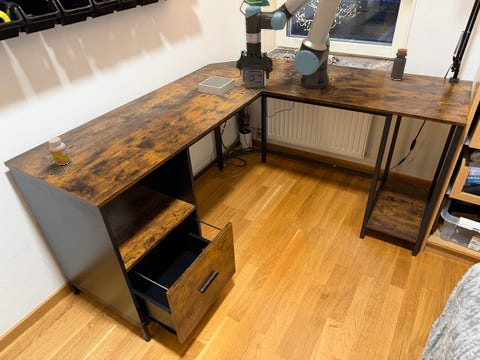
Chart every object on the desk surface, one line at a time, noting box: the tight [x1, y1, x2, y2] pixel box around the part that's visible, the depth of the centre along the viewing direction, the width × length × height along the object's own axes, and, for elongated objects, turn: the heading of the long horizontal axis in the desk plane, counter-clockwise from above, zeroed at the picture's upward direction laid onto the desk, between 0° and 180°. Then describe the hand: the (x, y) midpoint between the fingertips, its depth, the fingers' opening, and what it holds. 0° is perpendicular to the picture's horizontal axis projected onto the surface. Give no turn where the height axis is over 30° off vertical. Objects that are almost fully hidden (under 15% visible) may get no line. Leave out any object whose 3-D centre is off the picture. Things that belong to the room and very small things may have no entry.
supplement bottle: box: [48, 136, 72, 166], centre depth 122 cm, size 5×5×10 cm
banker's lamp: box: [235, 0, 274, 70], centre depth 197 cm, size 26×23×40 cm
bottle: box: [390, 48, 409, 79], centre depth 173 cm, size 6×6×15 cm
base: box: [197, 75, 236, 96], centre depth 177 cm, size 14×14×4 cm
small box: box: [244, 66, 265, 90], centre depth 175 cm, size 11×6×10 cm, turn 84°
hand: (254, 83), depth 177 cm, fingers open, 13 cm apart
